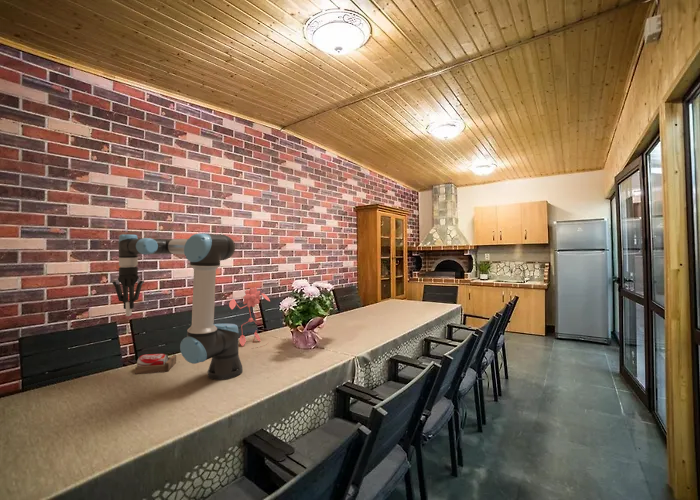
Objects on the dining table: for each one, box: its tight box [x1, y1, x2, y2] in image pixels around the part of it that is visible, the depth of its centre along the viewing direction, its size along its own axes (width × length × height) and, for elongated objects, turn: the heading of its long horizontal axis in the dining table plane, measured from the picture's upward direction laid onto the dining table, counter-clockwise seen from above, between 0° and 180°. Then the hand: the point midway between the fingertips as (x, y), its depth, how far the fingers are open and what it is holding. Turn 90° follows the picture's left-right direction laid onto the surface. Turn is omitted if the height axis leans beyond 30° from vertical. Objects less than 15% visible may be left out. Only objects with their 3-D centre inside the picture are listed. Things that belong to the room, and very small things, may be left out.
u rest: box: [134, 354, 177, 375], centre depth 157 cm, size 12×14×4 cm
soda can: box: [136, 353, 169, 367], centre depth 157 cm, size 7×7×12 cm
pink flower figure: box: [228, 286, 271, 349], centre depth 195 cm, size 15×26×35 cm, turn 138°
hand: (128, 315), depth 154 cm, fingers closed
